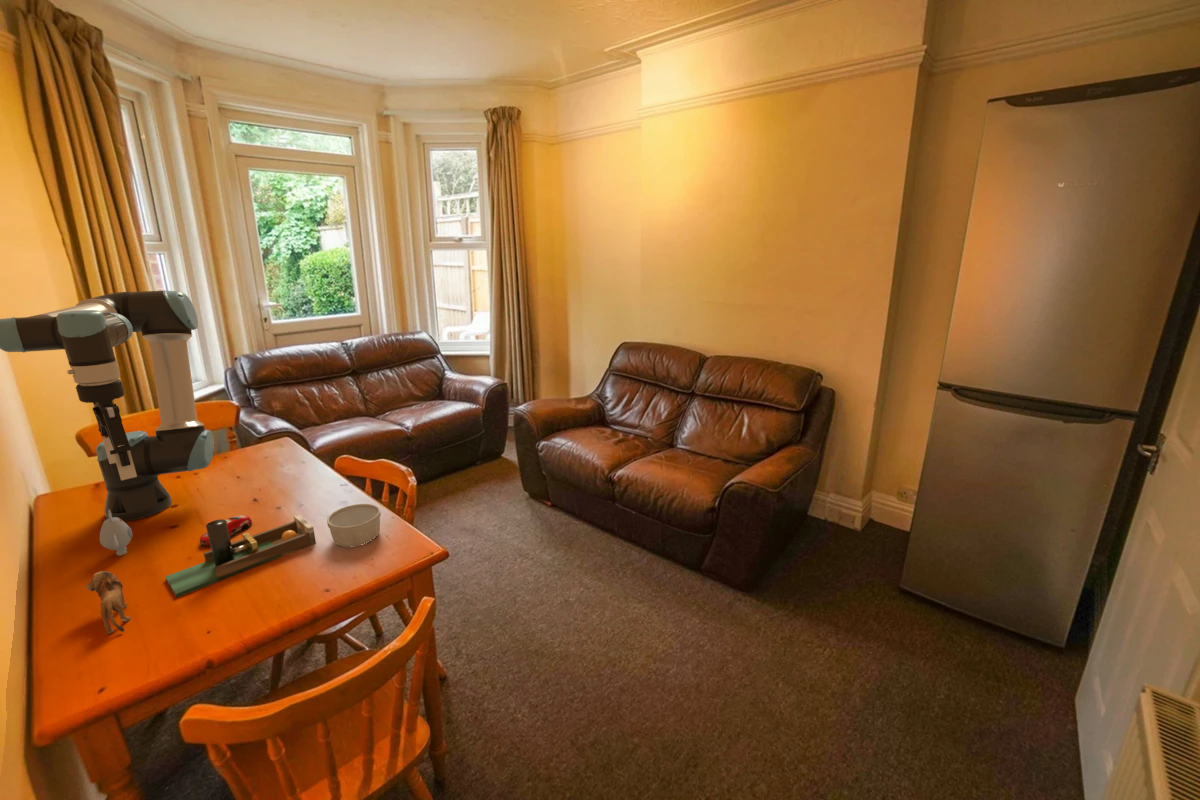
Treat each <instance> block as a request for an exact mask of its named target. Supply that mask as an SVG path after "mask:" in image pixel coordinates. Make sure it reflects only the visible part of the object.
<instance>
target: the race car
mask: <svg viewBox="0 0 1200 800" xmlns="http://www.w3.org/2000/svg"><path fill="white" fill-rule="evenodd" d="M224 520H226V522H227V527H228V532H229V536H230V538H232V537H234V536H235V535H237V534H240V533H241V532H245V531H246V530H248V529H249V528H250V527H251V526H252V525H253V521H252V519H251V517H250V516H248V515H244V514H243V515H242V514H241V515H236V516H231V517H228V518H225V519H224ZM199 544H200V545H201V546H202V547H203V546H204V547H211V545H210V541H209V537H208V533H207V532H206V533H204V534H202V535H201V536H200V538H199Z"/></svg>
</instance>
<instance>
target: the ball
mask: <svg viewBox="0 0 1200 800" xmlns="http://www.w3.org/2000/svg"><path fill="white" fill-rule="evenodd" d="M294 537H297V534H296V532H295V531H293V530H287V531H285V532H284V533H283V534H282V537H281V539H282V541H286V540H288V539H291V538H294Z"/></svg>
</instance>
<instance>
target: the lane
mask: <svg viewBox="0 0 1200 800" xmlns="http://www.w3.org/2000/svg"><path fill="white" fill-rule="evenodd" d="M293 520H294V521H291V522H287V523H285V524H282V525H279V526H277V527H273V528H270V529H268V530H265V531H262V532H258V533H257V534H254V535H251V536H252V537H253V538H254V539H255V540H256V541H257V544H258V549H259V551H256V552H254V553H251V554H250V553H249V552H248V551H244V552H241V553H239V554H236V555H234V559H235V560H232V561H229V562H227V563H224V564H221V565H219V566H216V567H215V563H214V558H213V554H212V550H211V549H210V550H208V551H206V552H205V551H204V552H203V556H204V562H201V563H198V564H196V565H193V566H190V567H188V568H185V569H181V570H179V571H177V572H174V573H170V574H168V575H165V579H166V582H167V584H168V585H169V587H170V589H171V591H172V592H173V594H174V596H175V597H176V598H180V597H182V596H184V595H185V596H186V595H188V594H190V593H193V592H195V591H197V590H200V589H203V588H205V587H208V586H211V585H213V584H216V583H218V582H221V581H225V580H226V579H229V578H231V577H234V576H236V575H239V574H241V573H244V572H246V571H249V570H252V569H255V568H256V567H260V566H262V565H265V564H268V563H269V562H270V563H271V562H272V561H274V560H277V559H279V558H283V557H285V556H287V555H290V554H293V553H295V552H298V551H300V550H302V549H306V548H308V547H310V546H313V545H315V543H316V544H317V541H316V535H315V531H314V526H313V525H312V524H311V523H309V522H308V521H307V520H306V519H304V517H302V516H301V515H300V514H295V515H294V516H293ZM287 530H293V531H295V532H296V534H297V537H294V538H291V539H288V540H286V541H282V539H281V537H282V534H283V533H284V532H285V531H287ZM231 545H232V549H233V548H236V547H239V546H242V545H245V544H244V540H243V538H242V539H239V540H237V541H233V542H231Z"/></svg>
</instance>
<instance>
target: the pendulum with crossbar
mask: <svg viewBox="0 0 1200 800" xmlns="http://www.w3.org/2000/svg"><path fill="white" fill-rule="evenodd" d="M205 527H206V533H208V537H209V541H210V545H211V546H210V551H211V550H212V554H213V558H214V563H215V567H216V566H219V565H221V564H224V563H227V562H229V561H232V560H235V559H234V555H236V554H239V553H241V552H244V551H248V552H249V553H250V554H251V553H254V552H256V551H259V549H258V544H257V541H256V540H255V539H254V538H253V537H252V536H253V535H251V534H250V533H249V532H248V531H247V532H244V533H242V539H243V540H244V544H245V545H242V546H239V547H236V548H233V549H232V545H231V543H232V541H231V537H230V536H229V532H228V527H227V522H226V520H225V519H216V520H212V521H209V522H208V523H207V524H206V525H205Z"/></svg>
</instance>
